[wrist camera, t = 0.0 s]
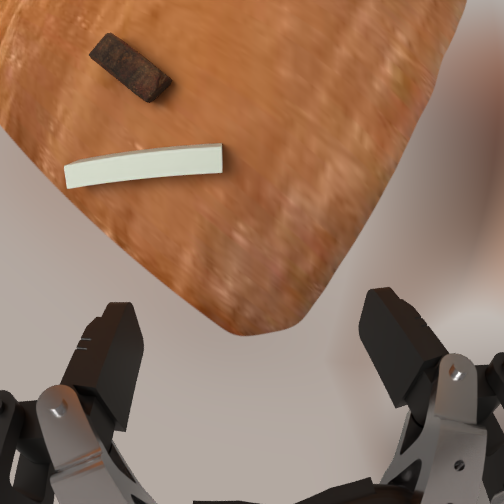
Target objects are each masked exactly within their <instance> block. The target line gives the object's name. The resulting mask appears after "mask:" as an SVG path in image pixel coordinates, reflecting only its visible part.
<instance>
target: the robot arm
mask: <svg viewBox="0 0 504 504" xmlns="http://www.w3.org/2000/svg"><path fill="white" fill-rule="evenodd" d="M359 335H360V339H361V341H362V343H363V345H364V346H365V348H366V350H367V352H368V354H369V356H370V358H371V360H372V362H373V364H374V366H375V368H376V370H377V372H378V374H379V376H380V378H381V380H382V382H383V383H384V386H385V388H386V390H387V392H388V394H389V396H390V398H391V400H392V402H393V404H394V406H395V408H398V407H402V406H405V405H408V407H409V409H410V410H409V411H408V413H407V415H406V419H405V423H404V426H403V430H402V433H401V437H400V440H399V443H398V446H397V449H396V452H395V456H394V458H393V460H392V462H391V464H390V466H389V467H388V469H387V470H386V472H385V473H384V475H383V477H382V479H381V481H380V484H373V483H372V480H371V477H368V478H365V479H362V480H359V481H355V482H352V483H348V484H345V485H341V486H336V487H333V488H330V489H327V490H325V491H323V492H321V493H319V494H316V495H314V496H312V497H310V498H307V499H305V500H303V501H300V502H298V503H295V504H477V501H478V496H479V492H480V486H481V481H483V483H484V486H485V489H486V492H487V495H488V498H489V501H490V504H504V433H503V431H502V429H501V428H500V425H499V423H498V422H497V419H496V418H495V416H494V414H493V412H494V410H495V409H496V408H497V407H498V406H499V405H500V404H501V405H502V407H503V409H504V352H500V353H498V354H496V355H495V356H494V358H493V360H492V361H491V363H490V364H489V365H474V364H473V363H472V362H471V360H469V359H468V358H467V357H465V356H463V355H461V354H455V353H453V354H449V352H448V351H447V350H446V348H445V347H444V346H443V344H442V343H441V342H440V340H439V339H438V338H437V336H436V335H435V334H434V332H433V331H432V330H431V328H430V327H429V326H427V323H426V322H425V321H424V320H423V318H421V316H420V314H419V313H418V312H417V311H416V309H415V308H414V307H413V306H411V305H410V304H409V303H407V302H406V301H404V300H403V299H399V297H398V296H397V295H396V294H395V292H394V291H393V290H392V289H391V288H390V287H385V288H377V289H370V290H369V291H368V292H367V295H366V299H365V303H364V306H363V311H362V314H361V318H360V322H359ZM143 351H144V343H143V336H142V333H141V330H140V327H139V324H138V320H137V317H136V314H135V311H134V307H133V305H132V303H130V302H110V303H109V304H108V305H107V307H106V309H105V311H104V313H103V315H102V317H96V318H95V319H94V320H93V321H92V322H91V323H90V324H89V325H88V326H87V327H86V329H85V331H84V333H83V335H82V337H81V340H80V341H79V343H78V345H77V350H75V351H74V353H73V356H72V358H71V360H70V362H69V364H68V367H67V369H66V371H65V374H64V376H63V378H62V381H61V383H60V385H54V386H51V387H49V388H47V389H46V390H45V391H44V392H43V393H42V394H41V395H40V396H39V398H38V400H34V401H23V402H18V401H17V400H16V399H15V398H14V397H13V395H12V394H11V393H10V392H8V391H5V390H0V504H53V502H54V494H55V495H56V497H57V500H58V502H59V504H157V503H156V502H155V501H154V499H153V498H152V497H151V496H150V495H149V494H148V493H147V492H146V491H145V489H144V488H143V487H142V486H141V484H140V483H139V482H138V480H137V479H136V477H135V476H134V474H133V473H132V471H131V470H130V468H129V467H128V465H127V463H126V462H125V460H124V458H123V457H122V455H121V453H120V452H119V450H118V448H117V447H116V445H115V443H114V442H113V440H112V438H113V432H114V430H115V431H122V432H126V428H127V422H128V418H129V413H130V408H131V404H132V399H133V394H134V390H135V385H136V381H137V377H138V373H139V368H140V364H141V360H142V356H143ZM16 449H17V450H18V451H19V452H20V457H19V461H18V465H17V470H16V474H15V480H14V484H13V487H12V486H11V483H10V479H9V478H10V477H9V476H10V471H11V467H12V462H13V458H14V454H15V450H16ZM193 504H258V503H250V502H244V501H193Z"/></svg>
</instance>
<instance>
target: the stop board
mask: <svg viewBox="0 0 504 504" xmlns="http://www.w3.org/2000/svg"><path fill="white" fill-rule="evenodd" d="M222 168H223V163H222V143H217V144H199V145H185V146H173V147H163V148H154V149H145V150H137V151H129V152H122V153H116V154H109V155H103V156H97V157H92V158H86V159H81V160H78V161H75V162H73V163H70V164H68V165H65V166H64V170H65V177H66V184H67V189H69V188H75V187H81V186H88V185H95V184H102V183H109V182H117V181H125V180H134V179H144V178H154V177H165V176H177V175H191V174H207V173H222Z"/></svg>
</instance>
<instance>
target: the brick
mask: <svg viewBox="0 0 504 504" xmlns="http://www.w3.org/2000/svg"><path fill="white" fill-rule="evenodd" d="M89 56H90V57H91V59H93V60H94V61H95V62H96V63H98V64H99V65H100V66H102V67H103V68H104V69H105V70H106V71H108V72H109V73H110V74H111V75H113V76H114V77H115V78H116V79H118V80H119V81H120V82H121V83H122V84H124V85H125V86H126V87H127V88H128V89H130V90H131V91H132V92H133V93H134V94H136V95H137V96H139V97H141V98H142V99H143V100H144V101H146V102H149V103H150V102H152V101H153V100H155V99H156V98H157V97H158V96H159V95H160V94H161V93H162V92H163V91H164V90H165V89H166V88H167V87H168V86H169V85H170V84H171V82H172V80H171V79H170V78H169V77H168V76H167V75H166V74H164V73H163V72H162V71H161V70H159V69H158V68H157V67H156V66H154V65H153V64H152V63H151V62H150V61H148V60H147V59H146V58H144V57H143V56H142V55H140V54H139V53H138V52H137V51H135V50H134V49H133V48H131V47H130V46H129V45H128V44H126V43H125V42H124V41H122V40H121V39H119V38H118V37H117V36H115V35H114V34H112V33H107V34H106V35H105V36H104V37H103V38H102V39H101V40H100V42H99V43H98V44H97V45H96V46H95V48H94V49H93V50H92V51H91V52H90V54H89Z"/></svg>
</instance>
